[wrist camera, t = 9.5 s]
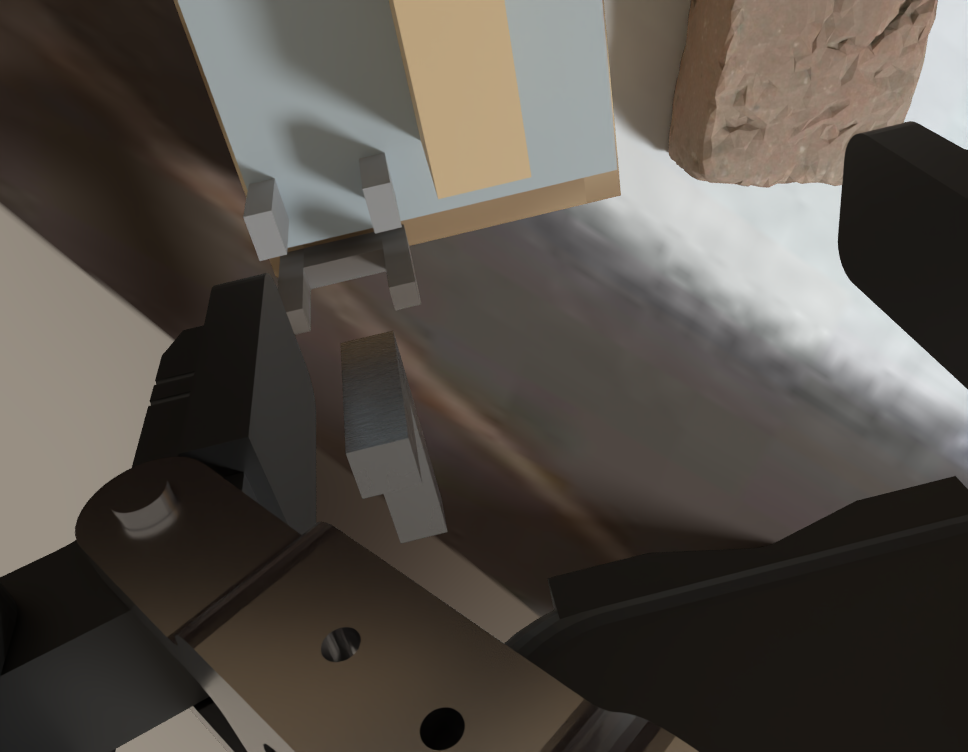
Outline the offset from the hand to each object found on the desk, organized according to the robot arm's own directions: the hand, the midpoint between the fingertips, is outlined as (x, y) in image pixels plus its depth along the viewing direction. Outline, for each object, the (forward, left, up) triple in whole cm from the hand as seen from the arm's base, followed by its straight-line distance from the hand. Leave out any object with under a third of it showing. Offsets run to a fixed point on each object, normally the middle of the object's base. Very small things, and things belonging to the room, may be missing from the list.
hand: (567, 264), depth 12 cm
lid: (0, +1, -16) cm, 16 cm away
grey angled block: (-13, +5, -14) cm, 20 cm away
